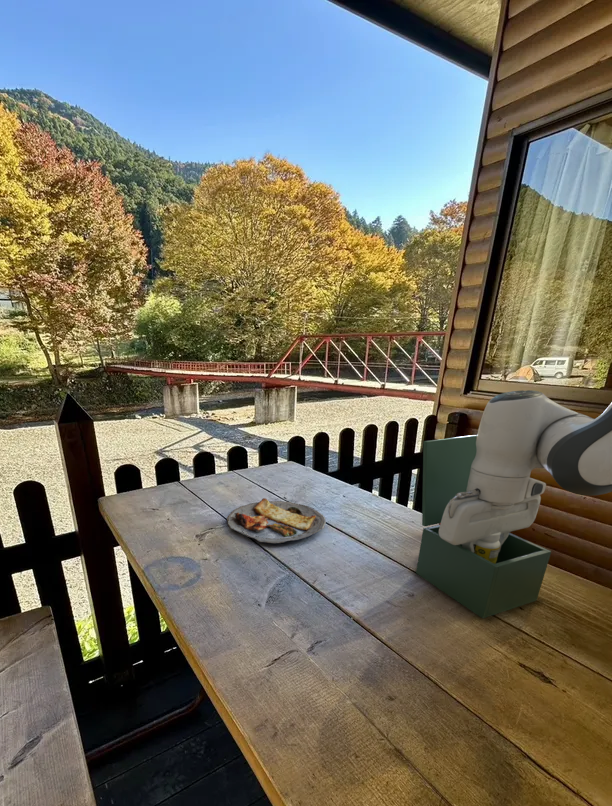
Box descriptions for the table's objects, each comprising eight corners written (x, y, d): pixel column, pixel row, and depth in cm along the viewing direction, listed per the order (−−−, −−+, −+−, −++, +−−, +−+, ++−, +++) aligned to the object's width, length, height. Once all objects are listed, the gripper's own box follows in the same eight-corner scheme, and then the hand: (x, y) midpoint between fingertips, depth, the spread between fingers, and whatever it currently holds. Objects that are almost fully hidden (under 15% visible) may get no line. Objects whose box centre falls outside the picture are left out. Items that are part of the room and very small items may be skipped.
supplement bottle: (459, 566, 79) (467, 526, 76) (477, 561, 80) (486, 522, 77) (480, 578, 75) (490, 537, 72) (499, 573, 76) (509, 533, 73)
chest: (536, 603, 75) (551, 551, 71) (482, 621, 70) (495, 567, 66) (464, 562, 89) (474, 517, 85) (415, 575, 84) (423, 528, 80)
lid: (479, 434, 81) (476, 434, 82) (426, 441, 76) (423, 441, 77) (476, 515, 84) (472, 514, 85) (425, 526, 79) (421, 525, 80)
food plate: (209, 524, 107) (209, 512, 106) (270, 501, 122) (270, 490, 121) (282, 559, 90) (282, 545, 89) (341, 527, 105) (342, 514, 104)
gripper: (467, 500, 65) (452, 575, 70) (553, 483, 72) (534, 552, 77) (436, 488, 71) (425, 558, 76) (519, 473, 78) (503, 538, 83)
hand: (480, 554), depth 77 cm, fingers closed on supplement bottle, 5 cm apart
